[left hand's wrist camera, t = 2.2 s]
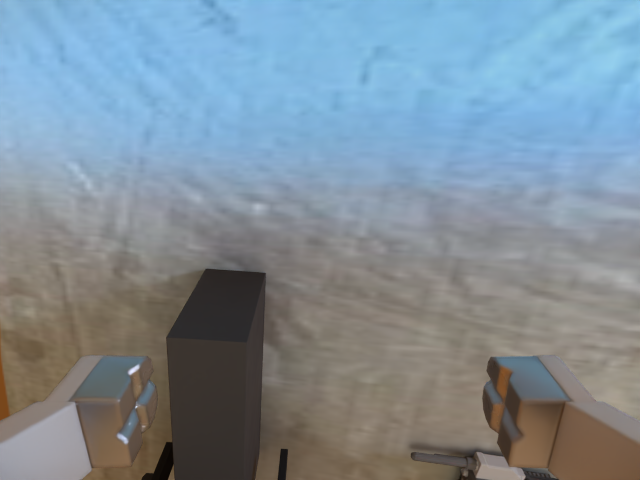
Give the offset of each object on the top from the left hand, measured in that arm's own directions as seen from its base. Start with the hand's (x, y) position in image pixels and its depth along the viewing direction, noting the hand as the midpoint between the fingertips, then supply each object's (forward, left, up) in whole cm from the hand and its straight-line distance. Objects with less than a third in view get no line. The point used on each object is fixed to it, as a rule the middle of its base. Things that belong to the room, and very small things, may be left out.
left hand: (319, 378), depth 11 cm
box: (+25, -8, -32) cm, 41 cm away
